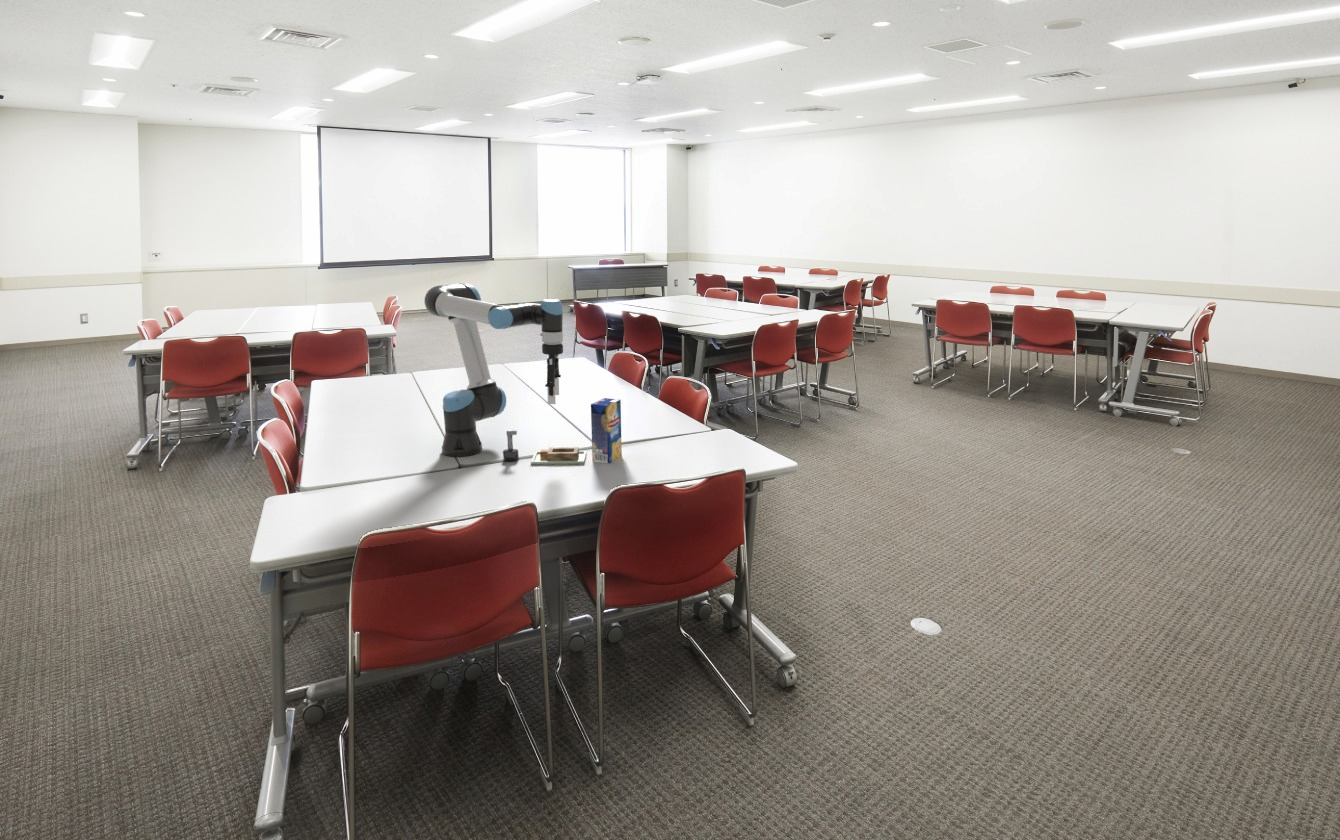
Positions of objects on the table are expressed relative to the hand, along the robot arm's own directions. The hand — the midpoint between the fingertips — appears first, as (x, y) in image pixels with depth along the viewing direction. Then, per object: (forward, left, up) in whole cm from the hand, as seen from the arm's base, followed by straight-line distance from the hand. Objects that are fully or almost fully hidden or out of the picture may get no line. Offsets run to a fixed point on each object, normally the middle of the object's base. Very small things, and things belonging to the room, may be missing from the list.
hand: (553, 399), depth 277 cm
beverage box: (+15, +12, -23) cm, 30 cm away
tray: (+2, 0, -23) cm, 23 cm away
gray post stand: (-12, -12, -23) cm, 28 cm away
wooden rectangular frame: (+2, 0, -22) cm, 23 cm away
